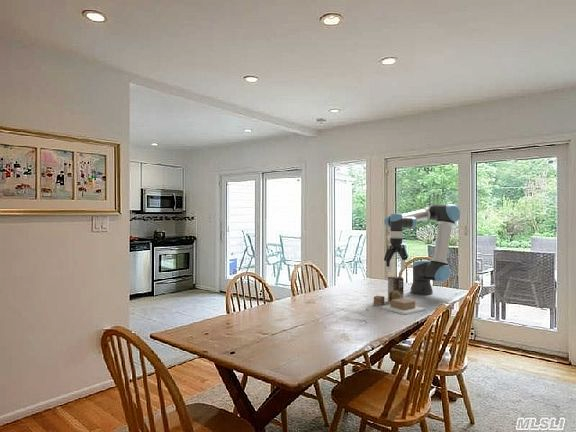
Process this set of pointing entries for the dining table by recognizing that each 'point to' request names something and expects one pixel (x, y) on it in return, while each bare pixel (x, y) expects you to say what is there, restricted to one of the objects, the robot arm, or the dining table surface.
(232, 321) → the dining table surface
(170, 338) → the dining table surface
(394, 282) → the coffee box
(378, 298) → the brick
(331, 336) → the dining table surface
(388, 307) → the tower base
